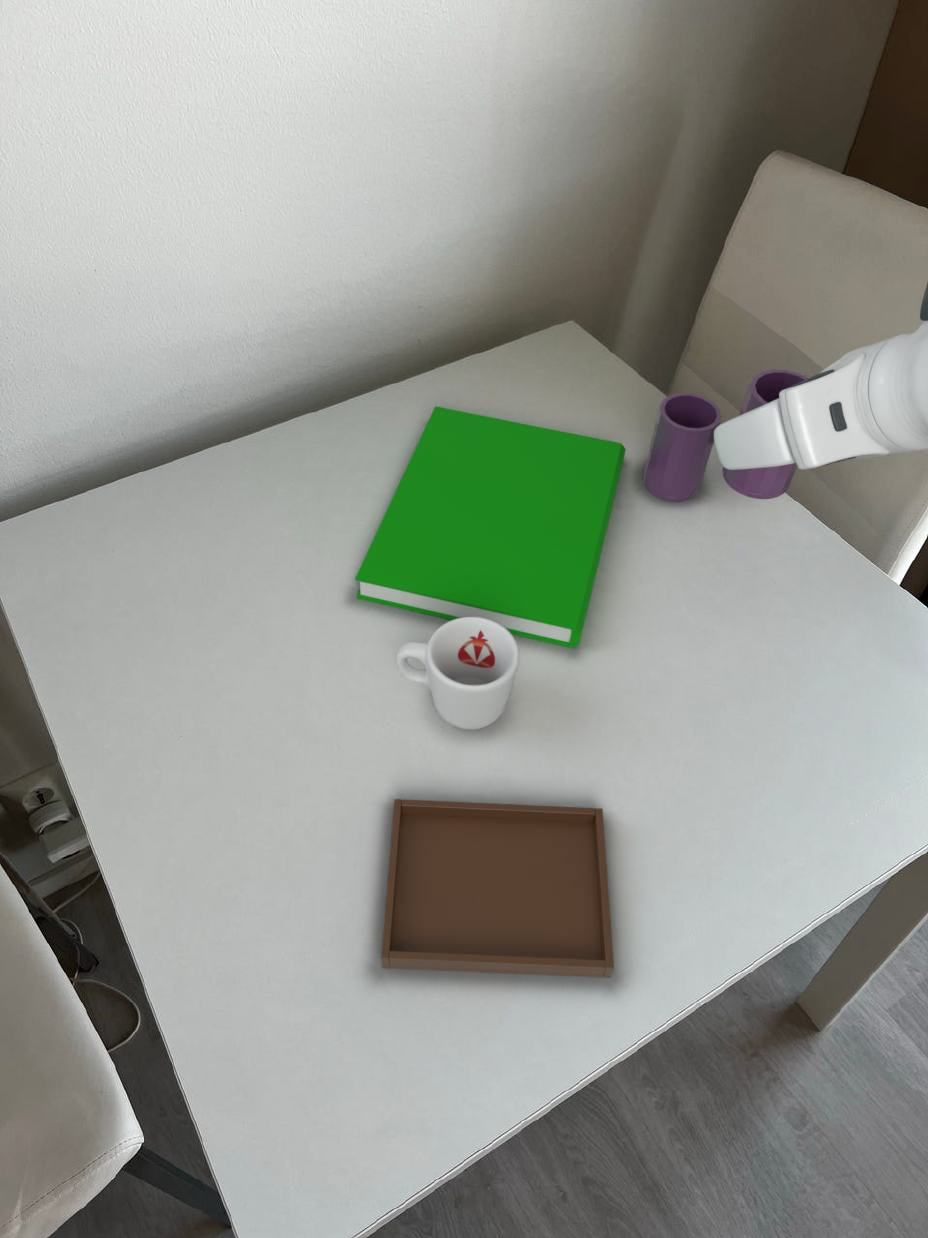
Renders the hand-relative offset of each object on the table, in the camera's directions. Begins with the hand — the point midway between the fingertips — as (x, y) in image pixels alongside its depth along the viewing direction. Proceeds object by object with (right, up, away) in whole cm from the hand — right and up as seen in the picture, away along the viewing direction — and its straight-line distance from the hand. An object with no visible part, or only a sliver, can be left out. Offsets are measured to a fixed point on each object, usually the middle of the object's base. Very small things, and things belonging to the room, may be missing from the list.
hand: (766, 427), depth 87 cm
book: (-24, -8, +14) cm, 29 cm away
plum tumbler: (0, -4, +4) cm, 5 cm away
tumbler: (-4, -2, +20) cm, 21 cm away
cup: (-29, -25, 0) cm, 38 cm away
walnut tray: (-25, -39, -12) cm, 48 cm away
